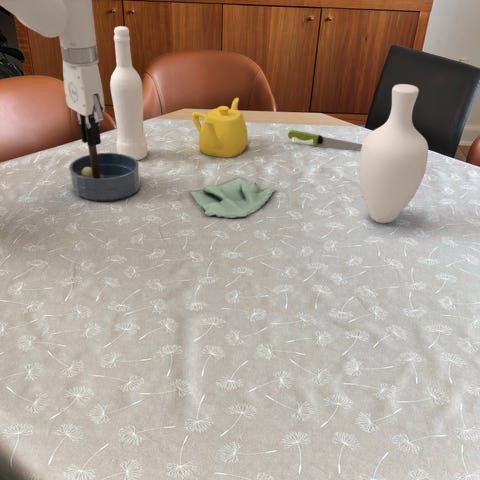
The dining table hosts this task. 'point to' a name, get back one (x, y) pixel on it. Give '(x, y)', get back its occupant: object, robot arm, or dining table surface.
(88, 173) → the ball
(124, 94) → the bottle
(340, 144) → the kitchen knife
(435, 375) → the dining table surface
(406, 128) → the vase
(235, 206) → the cloth
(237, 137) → the teapot
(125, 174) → the bowl
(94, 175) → the muddler
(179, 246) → the dining table surface
